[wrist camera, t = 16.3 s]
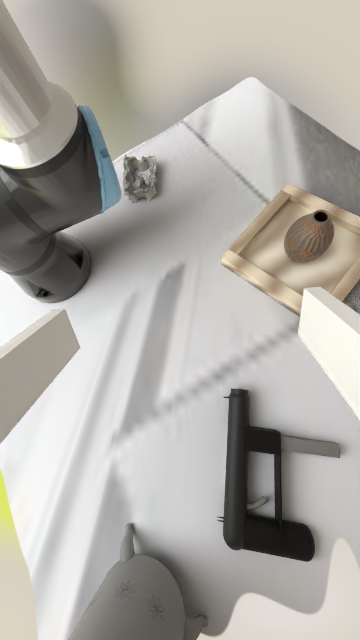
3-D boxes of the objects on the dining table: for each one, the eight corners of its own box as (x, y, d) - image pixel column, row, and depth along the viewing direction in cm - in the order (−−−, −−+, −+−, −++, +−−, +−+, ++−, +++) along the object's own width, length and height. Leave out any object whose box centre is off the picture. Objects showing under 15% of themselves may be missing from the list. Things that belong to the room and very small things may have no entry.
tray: (221, 264, 43) (221, 256, 41) (284, 193, 45) (287, 183, 43) (317, 328, 37) (324, 324, 35) (384, 243, 39) (395, 233, 37)
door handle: (338, 400, 32) (223, 387, 34) (353, 580, 26) (214, 551, 28) (326, 398, 35) (221, 387, 37) (337, 559, 29) (213, 535, 31)
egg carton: (130, 169, 55) (123, 153, 51) (160, 166, 54) (155, 148, 50) (125, 204, 52) (118, 189, 48) (157, 201, 50) (152, 186, 47)
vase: (271, 255, 41) (285, 221, 33) (294, 229, 42) (313, 189, 33) (306, 276, 39) (330, 245, 30) (329, 247, 40) (359, 210, 31)
